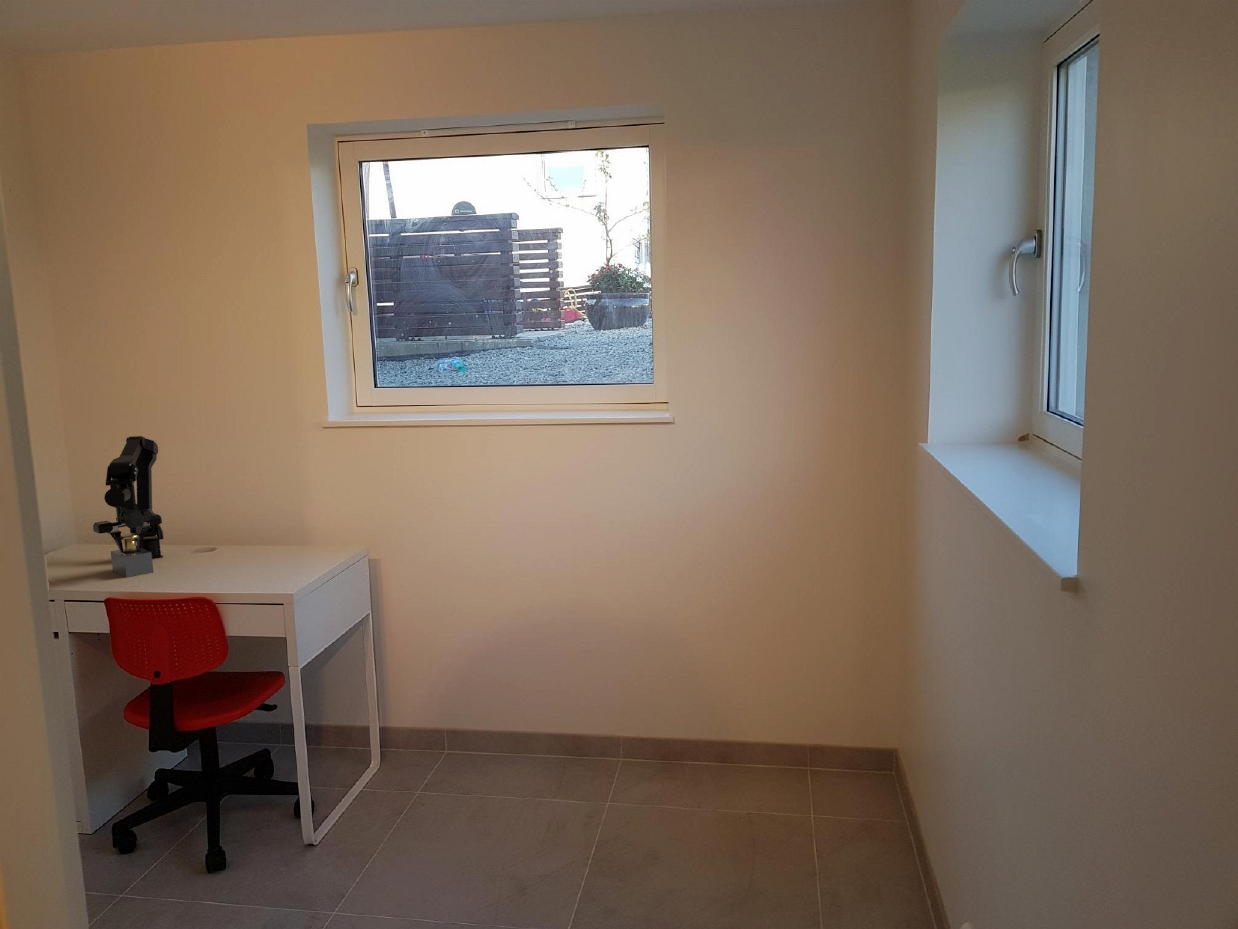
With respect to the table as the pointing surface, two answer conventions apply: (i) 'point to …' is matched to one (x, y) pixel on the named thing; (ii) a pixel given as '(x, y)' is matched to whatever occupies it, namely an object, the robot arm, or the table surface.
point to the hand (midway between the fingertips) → (130, 550)
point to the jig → (132, 562)
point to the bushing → (130, 542)
